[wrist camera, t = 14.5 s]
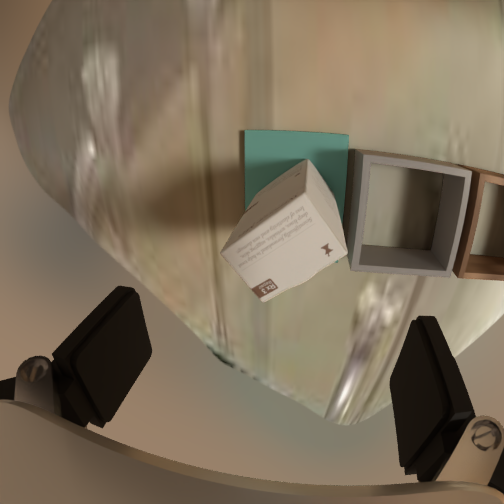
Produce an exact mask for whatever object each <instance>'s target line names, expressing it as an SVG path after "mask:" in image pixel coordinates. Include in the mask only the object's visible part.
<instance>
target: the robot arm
mask: <svg viewBox="0 0 504 504" xmlns="http://www.w3.org/2000/svg"><path fill="white" fill-rule="evenodd" d="M151 354H152V347H151V343H150V339H149V336H148V331H147V327H146V323H145V319H144V315H143V310H142V306H141V301H140V297H139V294H138V293H137V292H136V291H135V289H134V288H131V287H125V286H118V287H116V288H115V289H114V290H113V291H112V292H111V293H110V294H109V295H108V296H107V297H106V298H105V299H104V300H103V301H102V302H101V303H100V304H99V305H98V306H97V307H96V308H95V309H94V310H93V311H92V312H91V313H90V314H89V315H88V316H87V317H86V318H85V319H84V320H83V321H82V322H81V323H80V324H79V325H78V327H77V328H76V329H75V330H74V331H73V332H72V333H71V334H70V335H69V336H68V337H67V338H66V339H65V340H64V341H63V343H61V345H60V346H59V347H58V348H57V349H56V350H55V351H54V352H53V353H52V356H53V358H54V360H53V361H52V362H51V361H50V360H49V359H48V358H47V357H45V356H34V357H30V358H28V359H27V360H25V361H24V362H23V363H22V364H21V365H20V366H19V368H18V370H17V373H16V377H13V378H10V379H6V380H2V381H0V504H504V428H503V426H502V425H501V424H500V422H499V421H497V420H496V419H494V418H492V417H490V416H478V417H476V416H475V413H474V409H473V406H472V403H471V400H470V398H469V395H468V392H467V389H466V387H465V384H464V381H463V378H462V376H461V373H460V371H459V368H458V365H457V363H456V361H455V359H454V357H453V356H452V354H451V351H450V349H449V346H448V344H447V342H446V339H445V337H444V335H443V333H442V330H441V328H440V326H439V324H438V322H437V319H436V318H435V317H434V316H418V317H417V319H416V320H412V322H411V324H410V327H409V330H408V333H407V336H406V339H405V341H404V344H403V347H402V349H401V352H400V355H399V357H398V360H397V362H396V365H395V367H394V370H393V372H392V375H391V378H390V391H391V397H392V404H393V410H394V418H395V425H396V434H397V442H398V451H399V462H400V466H401V467H404V469H405V475H410V474H417V480H419V481H418V483H405V484H391V485H363V486H362V485H358V486H340V485H339V486H338V485H336V486H335V485H312V484H299V483H288V482H279V481H271V480H262V479H256V478H250V477H243V476H238V475H232V474H227V473H222V472H217V471H213V470H208V469H203V468H200V467H196V466H191V465H188V464H184V463H180V462H177V461H173V460H170V459H166V458H163V457H160V456H157V455H153V454H150V453H147V452H144V451H141V450H138V449H135V448H133V447H130V446H127V445H125V444H122V443H119V442H117V441H114V440H112V439H109V438H106V437H104V436H102V435H100V434H97V433H95V432H93V431H90V430H88V429H87V424H88V423H89V421H90V423H91V424H94V425H96V426H98V427H101V428H103V427H104V425H105V424H106V422H109V421H111V420H112V418H113V416H114V415H115V413H116V412H117V410H118V408H119V407H120V405H121V403H122V402H123V400H124V398H125V397H126V395H127V394H128V392H129V391H130V389H131V387H132V386H133V384H134V383H135V381H136V379H137V378H138V376H139V375H140V373H141V371H142V370H143V368H144V367H145V365H146V363H147V362H148V360H149V359H150V357H151Z"/></svg>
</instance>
